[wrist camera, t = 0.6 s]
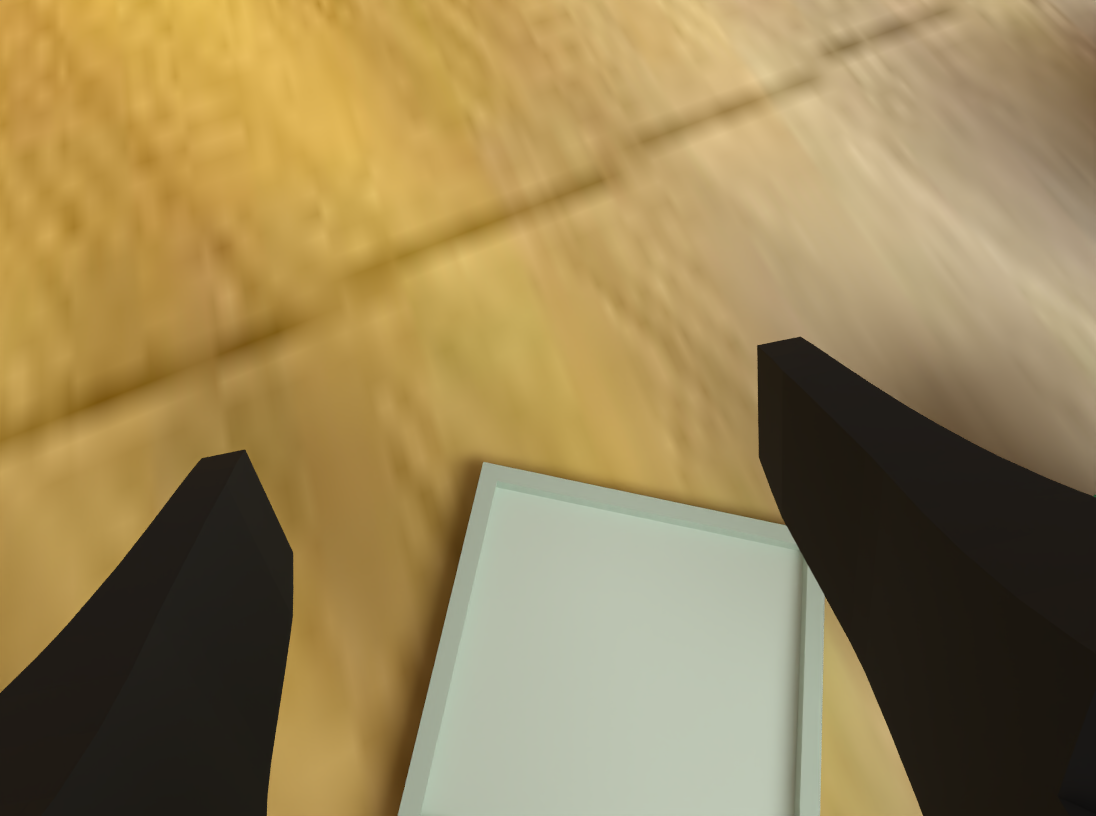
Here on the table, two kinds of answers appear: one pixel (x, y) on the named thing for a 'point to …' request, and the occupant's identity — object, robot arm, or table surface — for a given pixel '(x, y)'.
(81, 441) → the table surface
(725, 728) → the coaster
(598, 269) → the table surface
